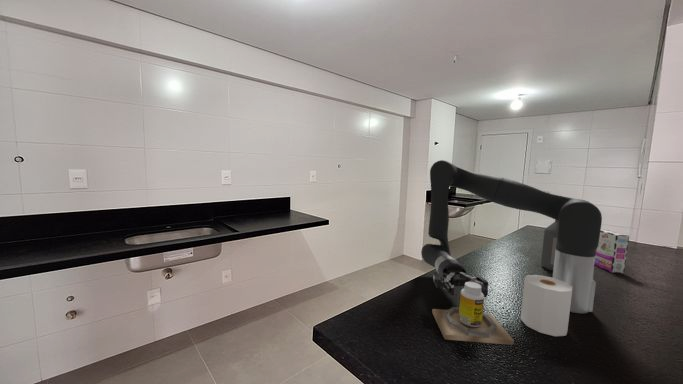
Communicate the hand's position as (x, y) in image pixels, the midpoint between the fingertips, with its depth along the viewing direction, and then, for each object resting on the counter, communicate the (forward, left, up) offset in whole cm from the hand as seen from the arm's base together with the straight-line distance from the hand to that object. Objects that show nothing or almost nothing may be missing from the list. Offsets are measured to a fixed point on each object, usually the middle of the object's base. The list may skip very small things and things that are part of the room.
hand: (469, 293), depth 72 cm
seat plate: (0, +2, -8) cm, 9 cm away
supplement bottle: (0, +2, -7) cm, 8 cm away
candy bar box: (-79, -52, -9) cm, 95 cm away
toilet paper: (-21, -2, -9) cm, 23 cm away
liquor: (-55, -48, -9) cm, 73 cm away
